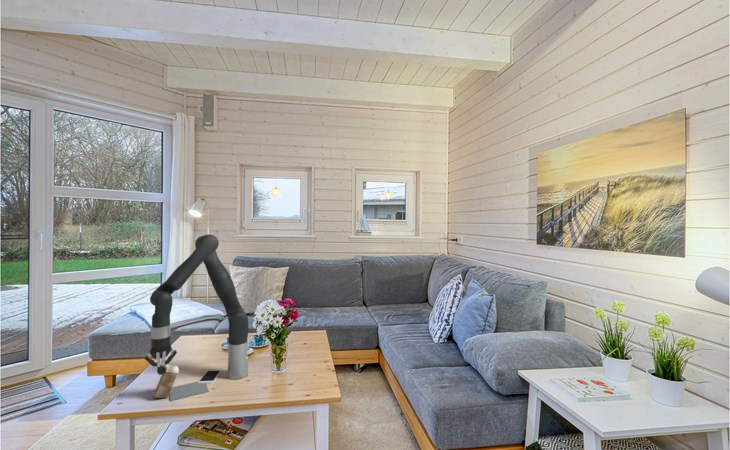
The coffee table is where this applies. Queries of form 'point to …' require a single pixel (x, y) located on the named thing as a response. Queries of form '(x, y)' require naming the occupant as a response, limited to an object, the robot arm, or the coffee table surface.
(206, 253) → the robot arm
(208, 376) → the smartphone
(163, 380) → the brown wooden block
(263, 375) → the coffee table surface
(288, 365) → the coffee table surface
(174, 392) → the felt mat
